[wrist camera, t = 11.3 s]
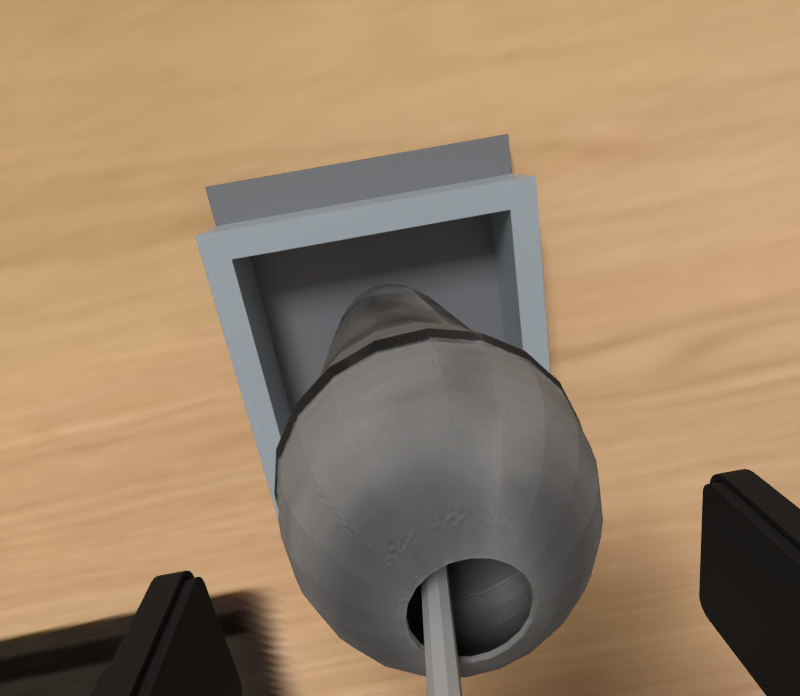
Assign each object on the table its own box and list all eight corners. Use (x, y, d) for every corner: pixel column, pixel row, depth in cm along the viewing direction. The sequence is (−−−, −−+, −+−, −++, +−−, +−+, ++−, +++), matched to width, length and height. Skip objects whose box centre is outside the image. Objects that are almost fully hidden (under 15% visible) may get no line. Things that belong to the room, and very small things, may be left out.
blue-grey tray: (501, 135, 22) (532, 129, 18) (530, 449, 27) (559, 496, 23) (211, 186, 22) (182, 191, 18) (296, 494, 27) (287, 549, 23)
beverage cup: (505, 343, 24) (1120, 1000, 5) (380, 440, 25) (498, 1309, 6) (404, 213, 22) (816, 511, 3) (270, 326, 23) (-109, 1128, 4)
